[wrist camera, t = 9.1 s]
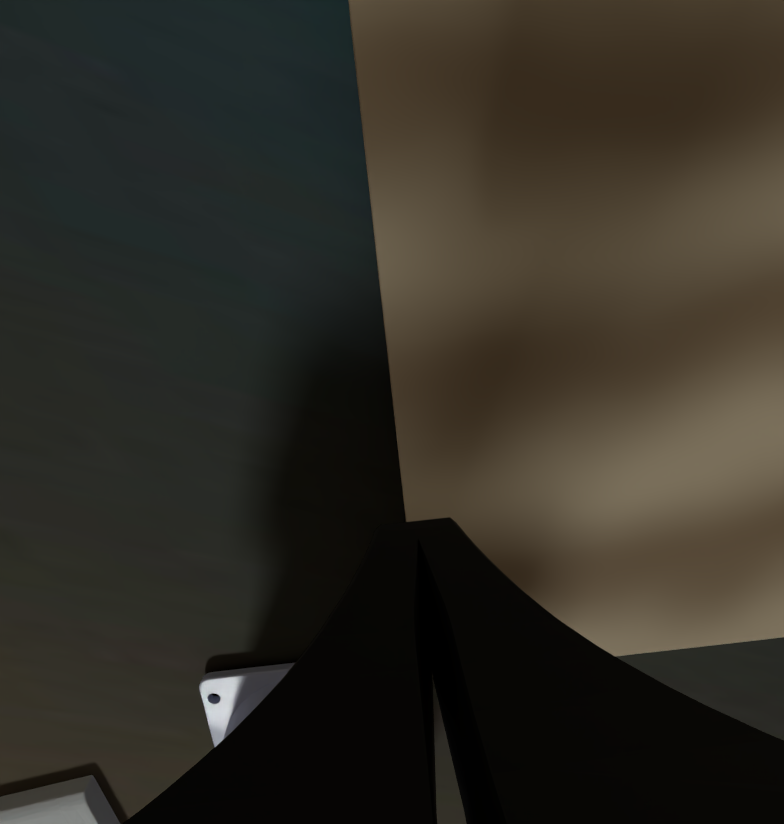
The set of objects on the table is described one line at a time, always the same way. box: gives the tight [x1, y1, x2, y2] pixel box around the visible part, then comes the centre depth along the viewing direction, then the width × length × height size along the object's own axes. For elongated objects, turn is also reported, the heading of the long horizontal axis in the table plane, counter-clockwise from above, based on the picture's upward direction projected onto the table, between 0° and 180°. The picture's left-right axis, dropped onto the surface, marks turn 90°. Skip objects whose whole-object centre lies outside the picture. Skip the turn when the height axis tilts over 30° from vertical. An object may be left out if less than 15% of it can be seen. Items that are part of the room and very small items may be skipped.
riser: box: [349, 0, 784, 677], centre depth 17 cm, size 20×12×4 cm, turn 6°
